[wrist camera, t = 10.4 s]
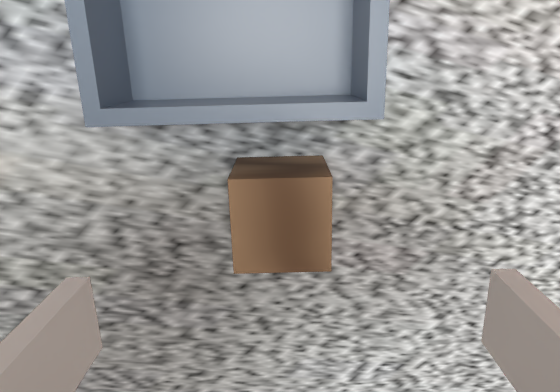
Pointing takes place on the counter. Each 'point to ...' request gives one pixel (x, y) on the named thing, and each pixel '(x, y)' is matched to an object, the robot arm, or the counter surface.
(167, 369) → the counter surface
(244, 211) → the walnut cube
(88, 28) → the tote
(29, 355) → the robot arm
